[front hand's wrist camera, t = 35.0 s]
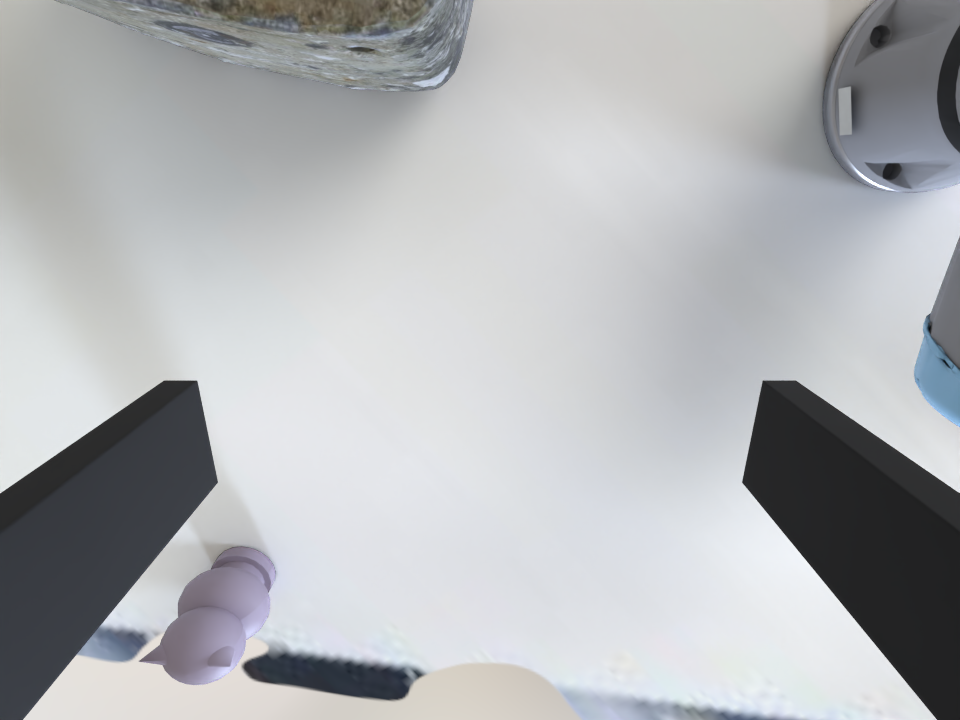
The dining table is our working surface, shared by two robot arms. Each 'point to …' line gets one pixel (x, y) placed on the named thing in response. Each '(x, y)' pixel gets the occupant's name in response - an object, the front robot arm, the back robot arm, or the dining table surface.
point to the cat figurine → (217, 618)
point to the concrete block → (311, 36)
